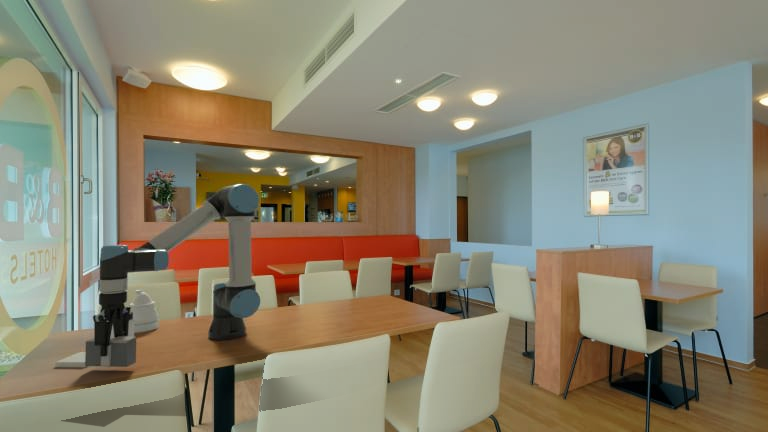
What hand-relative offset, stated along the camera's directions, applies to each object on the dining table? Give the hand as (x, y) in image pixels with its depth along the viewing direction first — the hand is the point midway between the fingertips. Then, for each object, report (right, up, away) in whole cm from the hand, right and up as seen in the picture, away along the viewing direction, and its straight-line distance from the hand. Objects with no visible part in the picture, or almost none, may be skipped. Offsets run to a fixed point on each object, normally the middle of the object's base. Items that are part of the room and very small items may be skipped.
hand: (111, 362), depth 121 cm
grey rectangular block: (0, 0, 0) cm, 0 cm away
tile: (-11, -2, +8) cm, 13 cm away
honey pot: (-22, -4, +49) cm, 54 cm away
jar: (-17, -3, +28) cm, 33 cm away
